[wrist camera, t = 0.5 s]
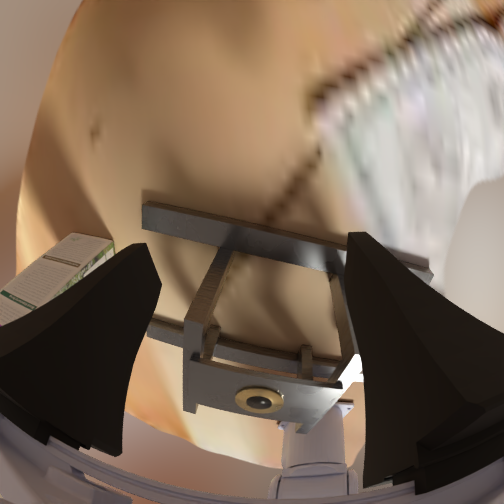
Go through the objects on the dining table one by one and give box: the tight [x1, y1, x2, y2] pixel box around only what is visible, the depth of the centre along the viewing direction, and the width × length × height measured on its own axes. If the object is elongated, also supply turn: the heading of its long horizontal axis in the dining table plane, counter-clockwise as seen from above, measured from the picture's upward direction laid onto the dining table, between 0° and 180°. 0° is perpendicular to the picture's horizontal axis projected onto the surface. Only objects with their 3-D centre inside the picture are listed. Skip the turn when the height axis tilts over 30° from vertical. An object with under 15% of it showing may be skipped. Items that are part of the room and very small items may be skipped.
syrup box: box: [0, 232, 115, 326], centre depth 17 cm, size 6×6×14 cm
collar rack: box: [142, 201, 434, 434], centre depth 19 cm, size 14×24×10 cm, turn 79°
